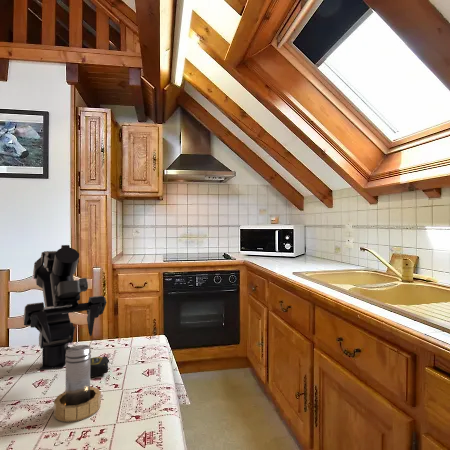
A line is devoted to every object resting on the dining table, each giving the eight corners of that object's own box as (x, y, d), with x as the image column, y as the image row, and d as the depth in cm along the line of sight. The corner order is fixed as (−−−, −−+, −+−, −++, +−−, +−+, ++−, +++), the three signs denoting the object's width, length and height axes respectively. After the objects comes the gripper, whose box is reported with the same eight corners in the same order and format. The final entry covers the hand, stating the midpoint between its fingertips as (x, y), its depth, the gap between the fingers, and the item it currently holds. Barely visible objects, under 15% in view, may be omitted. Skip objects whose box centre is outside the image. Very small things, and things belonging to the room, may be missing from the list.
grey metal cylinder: (59, 413, 68) (60, 352, 69) (74, 400, 73) (75, 344, 74) (81, 415, 67) (81, 353, 68) (95, 402, 72) (95, 345, 73)
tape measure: (108, 377, 87) (108, 363, 87) (80, 380, 85) (81, 366, 85) (109, 367, 93) (109, 354, 93) (84, 370, 91) (84, 357, 91)
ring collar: (46, 424, 65) (47, 409, 65) (63, 400, 74) (64, 388, 74) (93, 420, 66) (93, 406, 66) (104, 397, 75) (104, 385, 75)
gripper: (25, 271, 76) (29, 327, 67) (104, 266, 87) (117, 314, 78) (22, 298, 82) (25, 354, 73) (96, 290, 93) (107, 338, 84)
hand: (71, 338), depth 77 cm, fingers open, 9 cm apart
